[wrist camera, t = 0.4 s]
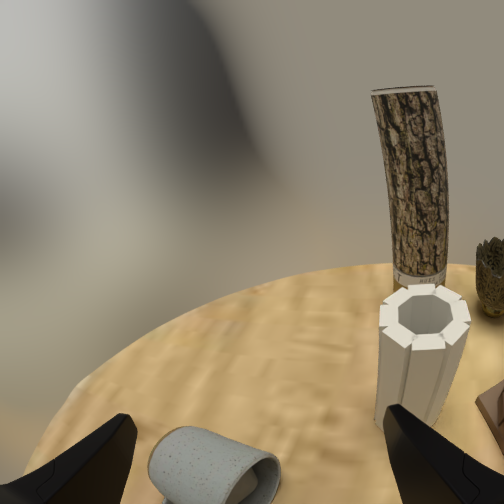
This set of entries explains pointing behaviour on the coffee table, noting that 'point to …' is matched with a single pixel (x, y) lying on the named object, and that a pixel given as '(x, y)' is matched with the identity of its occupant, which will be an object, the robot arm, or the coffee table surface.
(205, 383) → the coffee table surface
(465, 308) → the tube
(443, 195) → the paper tube
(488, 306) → the cup
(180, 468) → the ceramic mug
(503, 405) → the holder
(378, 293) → the coffee table surface
